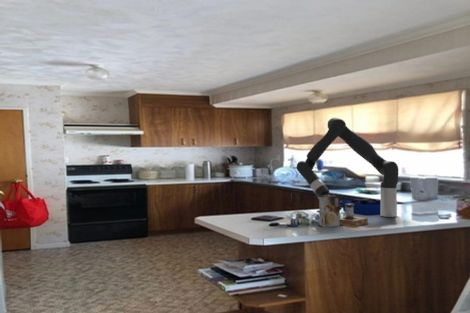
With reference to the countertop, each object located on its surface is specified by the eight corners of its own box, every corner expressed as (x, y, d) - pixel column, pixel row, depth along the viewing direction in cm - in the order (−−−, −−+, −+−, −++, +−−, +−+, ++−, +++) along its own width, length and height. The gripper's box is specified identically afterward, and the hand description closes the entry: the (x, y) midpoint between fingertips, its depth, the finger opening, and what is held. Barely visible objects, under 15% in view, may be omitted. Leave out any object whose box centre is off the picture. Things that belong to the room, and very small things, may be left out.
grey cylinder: (348, 222, 255) (348, 203, 255) (355, 223, 251) (355, 204, 251) (342, 223, 252) (342, 204, 251) (350, 224, 248) (350, 204, 248)
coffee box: (334, 224, 250) (334, 194, 249) (340, 226, 244) (340, 196, 243) (318, 225, 247) (318, 195, 247) (324, 227, 241) (324, 196, 241)
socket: (346, 220, 261) (346, 215, 261) (367, 223, 251) (367, 218, 251) (331, 223, 252) (331, 218, 252) (353, 226, 241) (353, 221, 241)
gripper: (315, 185, 258) (332, 207, 250) (330, 183, 268) (347, 205, 260) (308, 193, 262) (324, 216, 254) (323, 192, 272) (339, 213, 264)
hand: (336, 210), depth 257 cm, fingers open, 8 cm apart
